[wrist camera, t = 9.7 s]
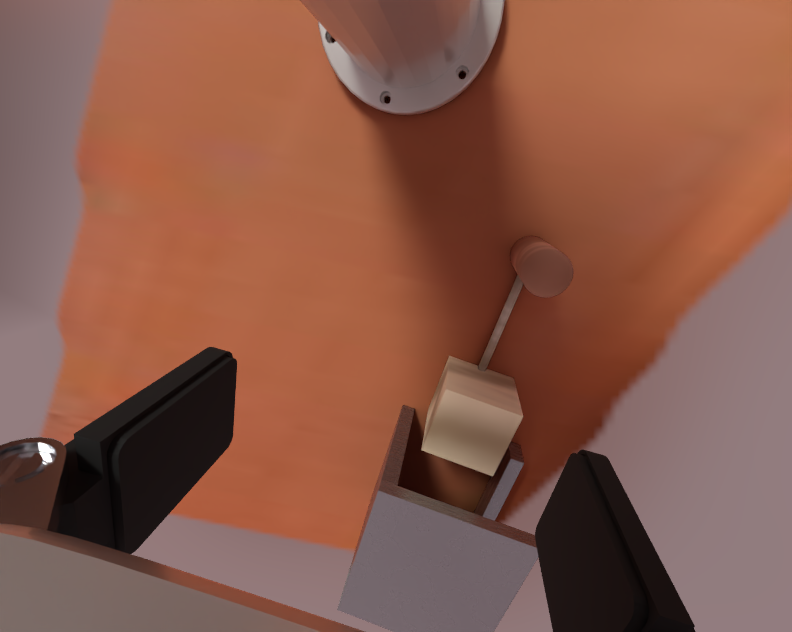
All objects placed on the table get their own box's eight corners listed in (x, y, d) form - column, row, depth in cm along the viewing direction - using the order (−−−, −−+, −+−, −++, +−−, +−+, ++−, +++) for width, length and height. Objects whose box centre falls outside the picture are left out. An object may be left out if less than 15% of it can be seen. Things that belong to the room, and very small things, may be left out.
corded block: (500, 224, 30) (510, 235, 23) (575, 248, 29) (606, 266, 23) (428, 409, 36) (419, 458, 29) (488, 431, 36) (493, 485, 29)
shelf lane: (402, 404, 36) (378, 490, 26) (520, 445, 35) (542, 550, 25) (369, 503, 41) (337, 609, 31) (472, 541, 40) (474, 663, 30)
